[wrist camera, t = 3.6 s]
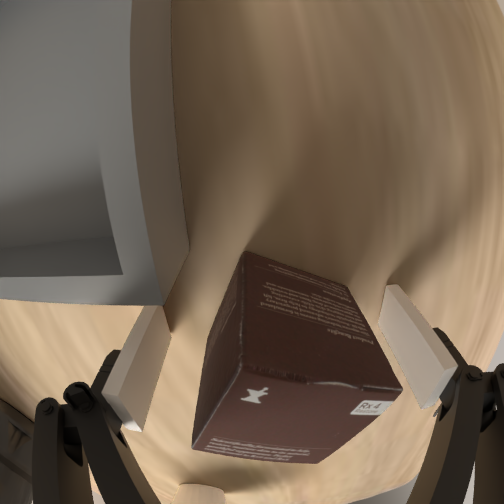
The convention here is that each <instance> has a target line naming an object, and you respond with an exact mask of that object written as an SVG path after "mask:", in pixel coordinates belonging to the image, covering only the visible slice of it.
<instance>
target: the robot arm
mask: <svg viewBox="0 0 504 504" xmlns="http://www.w3.org/2000/svg"><path fill="white" fill-rule="evenodd" d="M378 326H379V328H380V330H381V331H382V333H383V335H384V337H385V339H386V340H387V342H388V344H389V346H390V348H391V350H392V352H393V353H394V355H395V357H396V359H397V361H398V363H399V365H400V367H401V369H402V371H403V373H404V375H405V377H406V379H407V381H408V383H409V385H410V387H411V389H412V391H413V393H414V395H415V397H416V399H417V401H418V404H419V406H420V408H421V410H422V409H425V408H428V407H431V406H433V405H435V403H436V402H437V400H438V399H439V398H440V400H441V401H442V403H441V405H440V406H439V407H438V409H437V410H436V412H435V413H434V415H433V417H435V416H436V415H437V413H438V415H437V419H436V423H435V426H434V430H433V433H432V437H431V440H430V444H429V447H428V450H427V453H426V456H425V459H424V462H423V464H422V467H421V470H420V473H419V475H418V478H417V480H416V483H415V485H414V487H413V490H412V492H411V495H410V497H409V499H408V501H407V503H406V504H463V502H464V499H465V495H466V492H467V489H468V485H469V482H470V478H471V474H472V470H473V466H474V462H475V481H474V497H473V504H504V363H502V364H499V365H498V366H497V367H496V369H495V370H494V372H482V370H480V369H479V368H478V367H476V366H474V365H468V364H467V363H466V361H465V360H464V359H463V357H462V356H461V354H460V353H459V352H458V350H457V349H456V347H455V346H454V345H453V343H452V342H451V341H450V339H449V338H448V336H447V335H446V334H445V333H444V332H443V331H442V330H440V329H439V328H431V326H430V325H429V323H428V322H427V321H426V319H425V318H424V317H423V316H422V314H421V313H420V312H419V310H418V309H417V308H416V306H415V305H414V304H413V303H412V301H411V300H410V299H409V298H408V296H407V295H406V294H405V293H404V291H403V290H402V289H401V288H400V286H399V285H398V284H395V285H386V289H385V294H384V299H383V303H382V308H381V312H380V316H379V321H378ZM171 338H172V337H171V334H170V330H169V327H168V324H167V320H166V317H165V313H164V309H163V306H144V307H143V309H142V311H141V313H140V315H139V317H138V319H137V321H136V323H135V324H134V326H133V328H132V330H131V332H130V334H129V336H128V338H127V340H126V342H125V344H124V346H123V348H122V350H113V351H112V352H111V353H110V354H108V355H107V356H106V358H105V360H104V362H103V366H101V368H100V370H99V372H98V374H97V376H96V378H95V380H94V382H93V384H92V386H91V388H90V387H89V386H88V385H87V384H86V383H84V382H75V383H72V384H71V385H69V386H68V387H67V388H66V389H65V391H64V393H63V399H64V400H65V401H66V402H67V404H62V405H60V404H59V403H58V402H57V401H56V400H55V399H54V398H49V397H48V398H45V399H43V400H41V401H40V402H39V404H38V405H37V408H36V414H35V423H32V422H31V421H30V420H29V419H27V418H26V417H25V416H23V415H22V414H21V413H20V412H18V411H17V410H15V409H14V408H13V407H11V406H10V405H8V404H7V403H5V402H4V401H2V400H0V504H31V503H32V500H33V504H94V501H93V496H92V490H91V483H90V475H89V467H88V463H89V466H90V469H91V471H92V474H93V476H94V479H95V481H96V484H97V486H98V489H99V491H100V493H101V495H102V498H103V500H104V502H105V504H161V503H160V501H159V499H158V498H157V496H156V495H155V493H154V491H153V490H152V488H151V486H150V485H149V483H148V481H147V480H146V478H145V476H144V474H143V472H142V471H141V469H140V467H139V465H138V463H137V461H136V459H135V457H134V455H133V453H132V451H131V449H130V447H129V445H128V443H127V441H126V439H125V437H124V435H123V433H122V431H121V430H120V428H121V425H122V423H123V424H124V426H125V427H126V428H127V429H129V430H134V431H140V432H143V428H144V425H145V421H146V418H147V414H148V411H149V407H150V404H151V401H152V397H153V394H154V391H155V387H156V384H157V381H158V378H159V375H160V371H161V368H162V365H163V362H164V359H165V356H166V353H167V350H168V347H169V344H170V341H171ZM496 406H497V410H496Z"/></svg>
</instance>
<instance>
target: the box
mask: <svg viewBox="0 0 504 504" xmlns="http://www.w3.org/2000/svg"><path fill="white" fill-rule="evenodd" d="M402 391H403V388H402V386H401V384H400V383H399V381H398V379H397V377H396V376H395V374H394V372H393V370H392V367H391V365H390V363H389V361H388V359H387V358H386V356H385V354H384V352H383V350H382V348H381V347H380V345H379V343H378V341H377V339H376V337H375V335H374V334H373V332H372V330H371V328H370V326H369V324H368V323H367V321H366V319H365V317H364V315H363V314H362V312H361V310H360V309H359V307H358V305H357V303H356V302H355V300H354V298H353V296H352V295H351V293H350V291H349V289H348V287H346V286H344V285H340V284H337V283H335V282H332V281H329V280H326V279H323V278H321V277H318V276H315V275H312V274H309V273H306V272H304V271H301V270H298V269H295V268H292V267H290V266H287V265H284V264H281V263H278V262H275V261H272V260H270V259H267V258H264V257H261V256H258V255H255V254H252V253H249V252H246V251H245V252H243V253H242V255H241V257H240V259H239V262H238V264H237V267H236V269H235V271H234V274H233V276H232V279H231V281H230V284H229V286H228V289H227V291H226V294H225V296H224V299H223V301H222V304H221V306H220V308H219V311H218V313H217V316H216V318H215V321H214V323H213V326H212V328H211V331H210V333H209V336H208V338H207V344H206V351H205V357H204V363H203V368H202V375H201V382H200V388H199V395H198V401H197V406H196V413H195V420H194V428H193V433H192V447H191V448H192V449H194V450H199V451H204V452H210V453H215V454H221V455H226V456H233V457H239V458H245V459H254V460H262V461H273V462H286V463H309V464H317V463H319V462H320V461H322V460H324V459H325V458H326V457H328V456H329V455H331V454H332V453H333V452H335V451H336V450H338V449H339V448H340V447H341V446H343V445H344V444H345V443H347V442H348V441H349V440H350V439H352V438H353V437H354V436H355V435H357V434H358V433H359V432H361V431H362V430H363V429H364V428H366V427H367V426H368V425H369V424H370V423H371V422H373V421H374V420H375V419H376V418H377V417H378V416H380V415H381V414H382V413H383V412H384V411H385V410H386V409H387V408H388V407H389V406H390V405H391V404H392V403H393V402H394V401H395V400H396V398H397V397H398V396H399V395H400V394H401V392H402Z"/></svg>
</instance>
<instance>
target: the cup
mask: <svg viewBox="0 0 504 504" xmlns="http://www.w3.org/2000/svg"><path fill="white" fill-rule="evenodd" d="M171 504H226V499H225V495H224V491H223V490H221V489H219V488H216V487H212V486H207V485H200V484H181V485H179V487H178V489H177V492H176V494H175V496H174V498H173V500H172V502H171Z"/></svg>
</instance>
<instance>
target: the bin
mask: <svg viewBox="0 0 504 504" xmlns="http://www.w3.org/2000/svg"><path fill="white" fill-rule="evenodd" d="M189 251H190V247H189V240H188V234H187V227H186V220H185V212H184V205H183V197H182V189H181V180H180V171H179V162H178V152H177V141H176V130H175V117H174V102H173V85H172V60H171V0H0V299H8V300H20V301H33V302H48V303H66V304H90V305H139V306H162V305H165V302H166V300H167V298H168V296H169V294H170V291H171V289H172V287H173V285H174V283H175V280H176V278H177V276H178V274H179V272H180V270H181V268H182V266H183V263H184V261H185V259H186V257H187V255H188V253H189Z"/></svg>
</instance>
